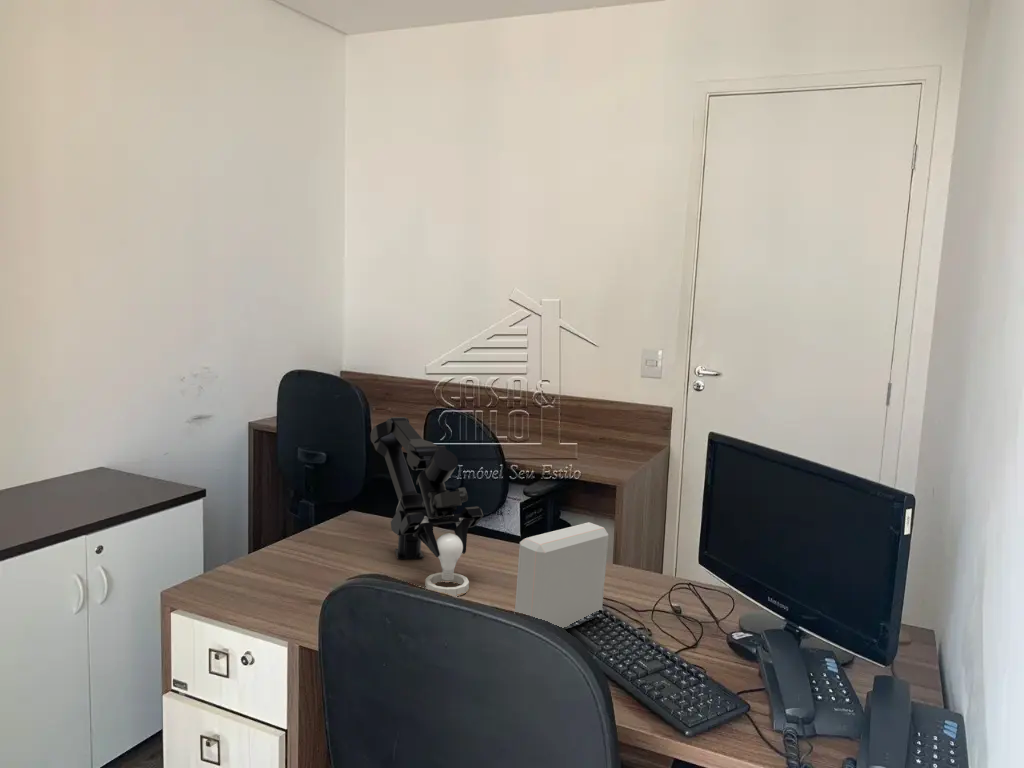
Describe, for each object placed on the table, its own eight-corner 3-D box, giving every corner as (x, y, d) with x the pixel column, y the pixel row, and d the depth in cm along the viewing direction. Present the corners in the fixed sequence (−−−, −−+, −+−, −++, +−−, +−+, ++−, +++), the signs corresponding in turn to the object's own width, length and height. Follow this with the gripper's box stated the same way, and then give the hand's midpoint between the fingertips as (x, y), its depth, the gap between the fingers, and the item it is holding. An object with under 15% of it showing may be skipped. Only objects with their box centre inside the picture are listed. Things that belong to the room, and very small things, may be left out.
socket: (422, 581, 173) (423, 573, 173) (463, 579, 176) (463, 571, 175) (429, 598, 164) (429, 590, 164) (471, 596, 167) (472, 588, 166)
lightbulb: (451, 589, 166) (453, 541, 164) (427, 582, 169) (429, 535, 167) (467, 579, 171) (469, 533, 169) (444, 572, 174) (445, 527, 172)
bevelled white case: (576, 606, 165) (583, 518, 163) (604, 619, 160) (612, 528, 157) (505, 631, 151) (512, 535, 148) (534, 647, 145) (541, 547, 143)
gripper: (407, 478, 165) (424, 543, 157) (482, 472, 175) (502, 534, 167) (392, 502, 173) (407, 565, 165) (465, 496, 182) (483, 555, 175)
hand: (451, 554), depth 168 cm, fingers closed on lightbulb, 6 cm apart
